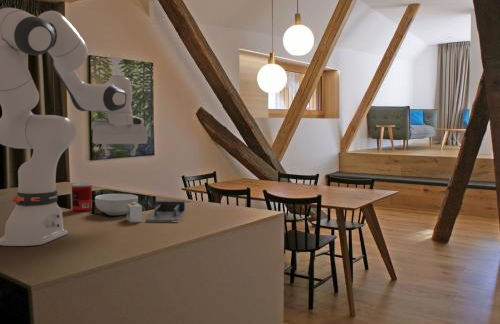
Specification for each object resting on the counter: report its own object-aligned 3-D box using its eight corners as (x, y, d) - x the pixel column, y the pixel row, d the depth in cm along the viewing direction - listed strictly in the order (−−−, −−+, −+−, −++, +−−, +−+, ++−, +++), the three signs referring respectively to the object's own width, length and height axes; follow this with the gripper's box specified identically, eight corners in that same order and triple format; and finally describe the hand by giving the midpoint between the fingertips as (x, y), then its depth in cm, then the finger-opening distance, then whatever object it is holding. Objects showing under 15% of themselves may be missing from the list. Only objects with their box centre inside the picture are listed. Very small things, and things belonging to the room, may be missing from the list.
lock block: (142, 222, 174) (142, 204, 174) (130, 223, 172) (130, 205, 172) (137, 218, 181) (137, 201, 180) (126, 219, 179) (126, 202, 178)
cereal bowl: (122, 219, 179) (122, 200, 178) (86, 215, 184) (85, 198, 183) (145, 211, 195) (145, 194, 194) (112, 208, 200) (111, 192, 199)
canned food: (95, 208, 199) (94, 183, 198) (86, 212, 191) (86, 185, 190) (77, 208, 199) (77, 182, 198) (68, 211, 191) (68, 185, 191)
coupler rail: (178, 222, 174) (178, 210, 173) (145, 222, 174) (145, 210, 173) (185, 211, 196) (185, 200, 195) (156, 211, 196) (156, 200, 195)
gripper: (91, 119, 170) (92, 157, 173) (148, 120, 178) (148, 156, 180) (90, 118, 176) (91, 154, 178) (145, 119, 183) (145, 153, 186)
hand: (120, 155), depth 179 cm, fingers open, 8 cm apart
